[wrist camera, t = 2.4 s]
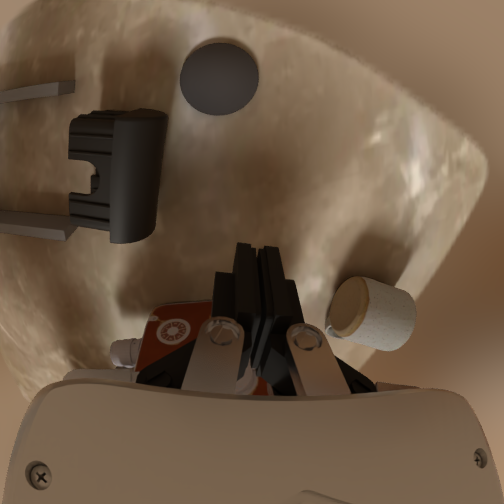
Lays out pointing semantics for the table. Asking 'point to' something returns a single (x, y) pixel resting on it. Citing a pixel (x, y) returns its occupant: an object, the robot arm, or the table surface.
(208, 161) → the table surface
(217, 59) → the lens cap
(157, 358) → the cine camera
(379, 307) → the ceramic mug
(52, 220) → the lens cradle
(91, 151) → the end cap
